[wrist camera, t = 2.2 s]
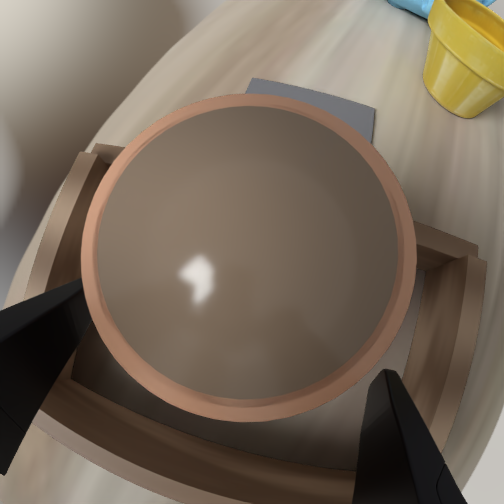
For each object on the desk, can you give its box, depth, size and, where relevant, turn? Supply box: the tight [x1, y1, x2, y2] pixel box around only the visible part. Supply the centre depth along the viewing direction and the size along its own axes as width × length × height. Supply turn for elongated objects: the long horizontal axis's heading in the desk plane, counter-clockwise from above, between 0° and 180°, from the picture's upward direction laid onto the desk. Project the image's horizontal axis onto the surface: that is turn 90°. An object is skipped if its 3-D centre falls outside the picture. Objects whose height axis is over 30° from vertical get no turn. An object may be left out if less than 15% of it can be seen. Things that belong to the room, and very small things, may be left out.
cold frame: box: [23, 143, 487, 504], centre depth 15 cm, size 16×24×6 cm
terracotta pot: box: [81, 94, 417, 422], centre depth 12 cm, size 7×7×13 cm
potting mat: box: [245, 78, 375, 144], centre depth 20 cm, size 10×10×1 cm
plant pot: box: [423, 0, 504, 118], centre depth 17 cm, size 10×10×10 cm
